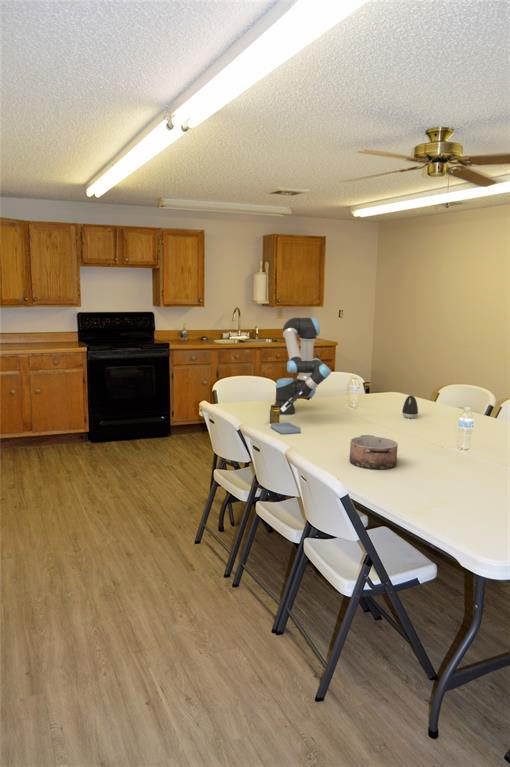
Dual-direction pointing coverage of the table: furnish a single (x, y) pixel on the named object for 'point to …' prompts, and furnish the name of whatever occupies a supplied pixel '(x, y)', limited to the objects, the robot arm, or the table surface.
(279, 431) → the tray
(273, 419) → the condiment
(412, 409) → the black bullet-shaped dome
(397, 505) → the table surface
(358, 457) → the cooking pot
